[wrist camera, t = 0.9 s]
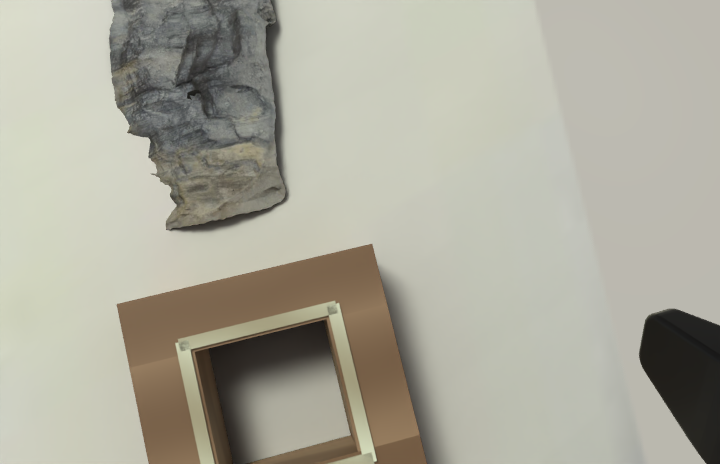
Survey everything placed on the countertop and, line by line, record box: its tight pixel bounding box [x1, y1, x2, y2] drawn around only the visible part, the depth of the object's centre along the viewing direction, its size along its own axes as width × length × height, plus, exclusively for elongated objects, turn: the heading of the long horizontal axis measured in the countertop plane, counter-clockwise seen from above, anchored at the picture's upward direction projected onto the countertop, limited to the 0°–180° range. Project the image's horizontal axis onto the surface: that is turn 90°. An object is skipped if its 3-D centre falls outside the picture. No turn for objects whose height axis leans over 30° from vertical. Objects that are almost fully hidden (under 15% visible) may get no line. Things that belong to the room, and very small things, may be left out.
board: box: [117, 244, 427, 464], centre depth 22 cm, size 8×8×3 cm
